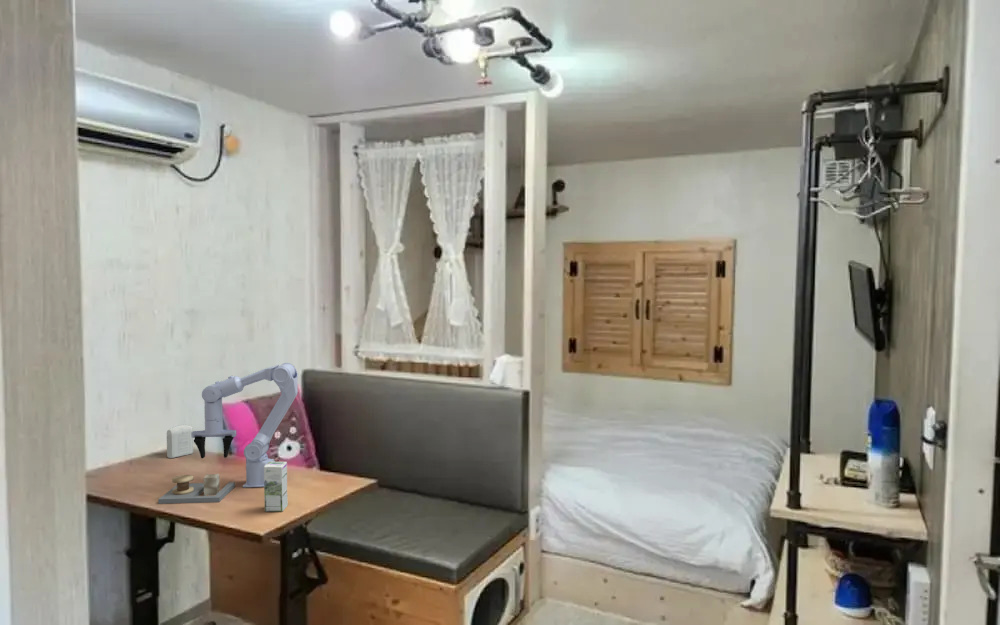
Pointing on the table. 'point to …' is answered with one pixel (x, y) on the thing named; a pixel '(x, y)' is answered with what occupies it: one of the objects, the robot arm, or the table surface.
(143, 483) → the table surface
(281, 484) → the syrup box
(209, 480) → the block
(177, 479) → the spool
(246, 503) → the table surface
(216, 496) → the notched board
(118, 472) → the table surface
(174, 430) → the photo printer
